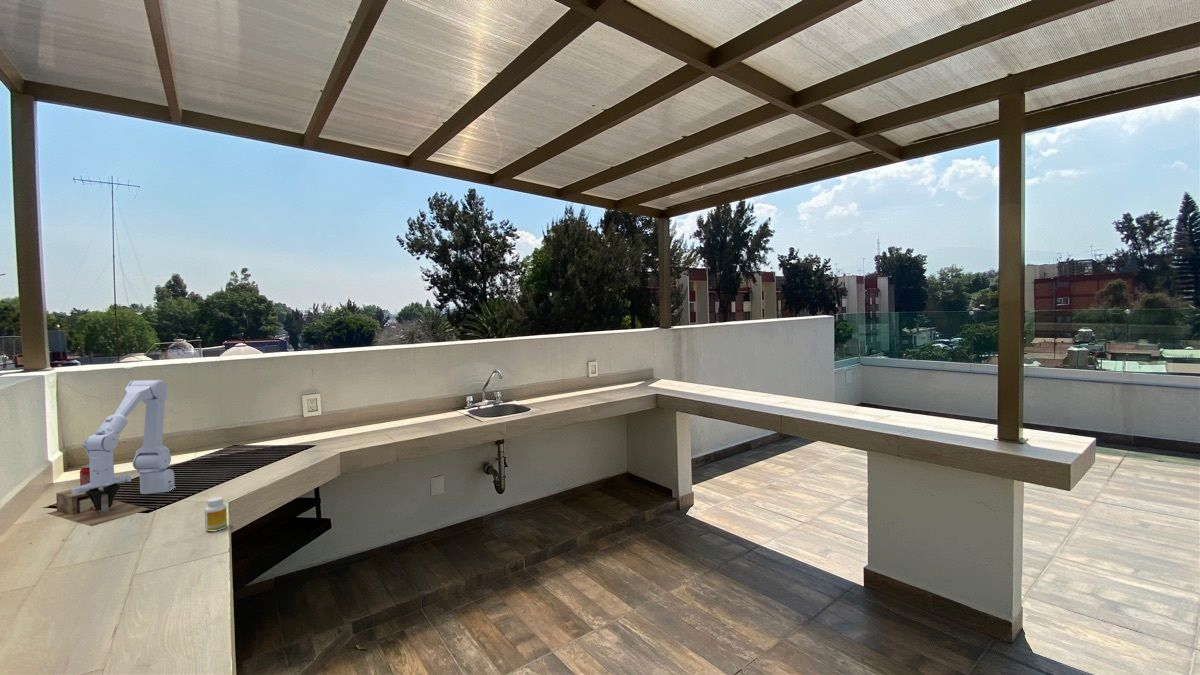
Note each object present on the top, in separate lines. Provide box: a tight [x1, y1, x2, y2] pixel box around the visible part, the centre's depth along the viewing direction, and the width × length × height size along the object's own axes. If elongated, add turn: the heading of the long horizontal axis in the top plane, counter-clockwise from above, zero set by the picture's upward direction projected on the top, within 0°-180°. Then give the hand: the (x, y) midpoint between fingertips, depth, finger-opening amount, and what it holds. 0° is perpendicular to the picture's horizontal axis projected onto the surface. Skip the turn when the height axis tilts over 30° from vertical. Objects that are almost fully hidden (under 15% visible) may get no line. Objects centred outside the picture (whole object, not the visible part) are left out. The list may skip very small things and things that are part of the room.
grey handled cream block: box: [77, 494, 109, 514], centre depth 166 cm, size 14×6×6 cm, turn 69°
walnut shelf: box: [46, 488, 150, 527], centre depth 164 cm, size 28×15×7 cm, turn 69°
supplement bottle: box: [204, 496, 228, 531], centre depth 153 cm, size 5×5×10 cm
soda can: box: [79, 463, 90, 486], centre depth 181 cm, size 7×7×12 cm
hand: (103, 508), depth 163 cm, fingers closed on grey handled cream block
